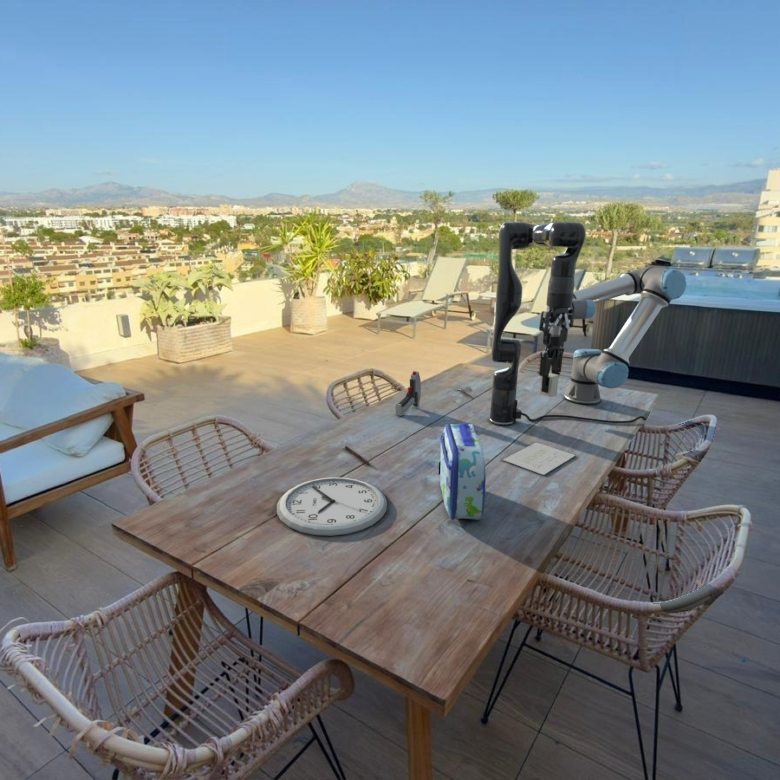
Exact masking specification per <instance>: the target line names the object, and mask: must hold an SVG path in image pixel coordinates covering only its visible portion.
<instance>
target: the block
mask: <svg viewBox="0 0 780 780" xmlns="http://www.w3.org/2000/svg"><path fill="white" fill-rule="evenodd" d="M540 377H541V378H540V387H539V395H542V396H544V397H549V398H553V397H556V396H557V395H558V388H559V378H560V375H557V374H553V373H552V372H549V376H548V377H550V379H549V388H548V393H545V392H541V389H542V378H543V377H542V376H540Z"/></svg>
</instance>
